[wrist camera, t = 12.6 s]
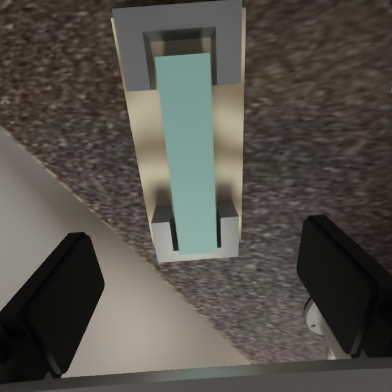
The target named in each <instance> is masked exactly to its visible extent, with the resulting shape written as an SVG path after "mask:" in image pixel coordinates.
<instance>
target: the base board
mask: <svg viewBox="0 0 392 392" xmlns="http://www.w3.org/2000/svg"><path fill="white" fill-rule="evenodd" d="M111 22H112V27H113V33H114V38H115V43H116V49H117V54H118V59H119V65H120V70H121V76H122V81H123V86H124V92H125V97H126V102H127V108H128V113H129V118H130V124H131V129H132V134H133V140H134V145H135V151H136V156H137V161H138V167H139V172H140V177H141V183H142V188H143V193H144V199H145V204H146V209H147V215H148V220H149V226H150V231H151V236H152V242H153V246H155V243H154V238H153V232H152V227H151V221H152V218H153V214H154V210H155V207H156V206H165V205H172V212H173V220H174V227H175V232H177V230H176V222H175V215H174V207H173V199H172V191H171V183H170V175H169V168H168V160H167V152H166V144H165V136H164V128H163V120H162V113H161V105H160V97H159V89H158V81H157V73H156V66H155V58H154V57H162V56H175V55H188V54H201V53H210V66H211V94H212V122H213V149H214V177H215V205H216V202H217V201H230V200H232V201H233V203H234V206H235V208H236V211H237V213H238V216H239V239H241V213H242V167H243V120H244V74H245V27H246V8H242V54H241V83H237V84H229V85H216V86H212V58H211V38H199V39H186V40H173V41H159V42H150V43H151V51H152V59H153V66H154V74H155V82H156V89H157V90H151V91H137V92H127V90H126V85H125V79H124V74H123V68H122V63H121V57H120V52H119V46H118V41H117V35H116V30H115V24H114V19H113V18H111ZM216 228H217V208H216Z"/></svg>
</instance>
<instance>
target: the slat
mask: <svg viewBox="0 0 392 392" xmlns="http://www.w3.org/2000/svg"><path fill="white" fill-rule="evenodd" d="M154 58H155V66H156V73H157V81H158V89H159V97H160V105H161V113H162V120H163V128H164V136H165V144H166V152H167V160H168V168H169V175H170V183H171V191H172V199H173V207H174V215H175V222H176V230H177V238H178V246H179V254H180V255H186V254H199V253H211V252H217V233H216V205H215V177H214V149H213V122H212V94H211V66H210V53H201V54H188V55H175V56H162V57H154Z"/></svg>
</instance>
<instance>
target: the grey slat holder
mask: <svg viewBox="0 0 392 392" xmlns="http://www.w3.org/2000/svg"><path fill="white" fill-rule="evenodd" d="M112 13H113V19H114V24H115V30H116V35H117V41H118V46H119V52H120V57H121V63H122V68H123V74H124V79H125V85H126V90H127V92H137V91H151V90H157V89H156V82H155V74H154V66H153V59H152V51H151V43H150V42H159V41H173V40H186V39H199V38H211V58H212V86H216V85H229V84H237V83H241V54H242V0H223V1H209V2H196V3H183V4H169V5H156V6H143V7H129V8H116V9H112ZM216 208H217V228H216V233H217V252H211V253H199V254H186V255H180V254H179V246H178V238H177V232H175V227H174V220H173V212H172V205H165V206H156V207H155V210H154V214H153V218H152V221H151V227H152V232H153V238H154V243H155V249H156V254H157V260H158V263H160V262H172V261H185V260H198V259H211V258H224V257H237V256H238V243H239V216H238V213H237V211H236V208H235V206H234V203H233V201H232V200H230V201H217V202H216Z"/></svg>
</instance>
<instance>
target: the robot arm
mask: <svg viewBox="0 0 392 392" xmlns="http://www.w3.org/2000/svg"><path fill="white" fill-rule="evenodd" d="M297 274H298V276H299V278H300V279H301V281H302V283H303V284H304V286H305V288H306V289H307V291H308V293H309V294H310V296H311V298H312V299H311V300H310V301H309V303H308V304H307V306H306V308H305V311H304V318H305V321H306V323H307V325H308V327H309V328H310V329H311V330H312V331H313V332H315V333H317V334H320V335H323V336H324V337H325V339H326V341H327V345H328V348H327V351H326V357H327V359H328V360H317V361H301V362H285V363H269V364H253V365H238V366H223V367H208V368H194V369H180V370H165V371H150V372H137V373H124V374H109V375H96V376H82V377H69V378H61V376H62V374H64V373H66V372H67V370H68V369H69V367H70V364H71V362H72V360H73V358H74V355H75V353H76V351H77V349H78V346H79V344H80V342H81V339H82V337H83V335H84V333H85V331H86V328H87V326H88V323H89V321H90V319H91V317H92V315H93V312H94V310H95V308H96V306H97V303H98V301H99V299H100V297H101V294H102V292H103V290H104V279H103V275H102V272H101V269H100V266H99V263H98V260H97V257H96V254H95V251H94V247H93V244H92V241H91V238H90V236H89V235H86V234H85V233H84V232H77V233H69V234H68V235H67V236H66V237H65V238H64V239H63V240H62V241H61V243H60V244H59V245H58V246H57V248H55V249H54V251H53V252H52V253H51V254H50V255H49V256H48V257H47V259H46V260H45V261H44V262H43V263H42V264H41V265H40V267H39V268H38V269H37V270H36V271H35V272H34V273H33V275H32V276H31V277H30V278H29V279H28V280H27V282H26V283H25V284H24V285H23V286H22V287H21V288H20V290H19V291H18V292H17V293H16V294H15V295H14V296H13V298H12V299H11V300H10V301H9V302H8V303H7V305H6V306H5V307H4V308H3V309H2V310H1V311H0V392H392V275H391V274H390V273H389V272H388V271H386V270H385V269H384V268H383V267H382V266H381V265H380V264H379V263H378V262H376V261H375V260H374V259H373V258H372V257H371V256H370V255H369V254H368V253H366V252H365V251H364V250H363V249H362V248H361V247H360V246H359V245H357V244H356V243H355V242H354V241H353V240H352V239H351V238H350V237H349V236H347V235H346V234H345V233H344V232H343V231H342V230H341V229H340V228H339V227H337V226H336V225H335V224H334V223H333V222H332V221H331V220H330V219H328V218H327V217H326V216H325V215H312V216H309V217H308V218H307V219H305V220H304V222H303V229H302V235H301V242H300V248H299V255H298V261H297Z"/></svg>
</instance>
